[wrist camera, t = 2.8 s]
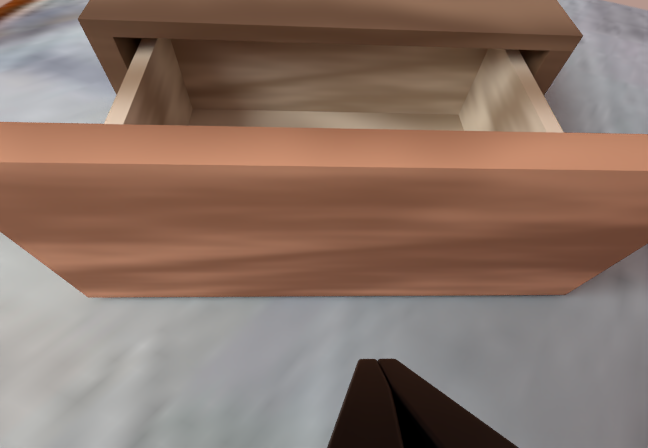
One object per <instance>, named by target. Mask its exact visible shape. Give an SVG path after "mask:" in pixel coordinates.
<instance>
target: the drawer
mask: <svg viewBox="0 0 648 448" xmlns="http://www.w3.org/2000/svg"><path fill="white" fill-rule="evenodd" d="M0 232H1V233H3V234H4V235H5V236H7V237H8V238H9V239H11V240H12V241H13V242H15V243H16V244H17V245H19V246H20V247H22V248H23V249H24V250H26V251H27V252H28V253H30V254H31V255H32V256H34V257H35V258H36V259H38V260H39V261H40V262H42V263H43V264H44V265H46V266H47V267H48V268H50V269H51V270H52V271H54V272H55V273H56V274H58V275H59V276H60V277H62V278H63V279H64V280H66V281H67V282H68V283H70V284H71V285H72V286H74V287H75V288H76V289H78V290H79V291H80V292H82V293H83V294H84V295H86V296H87V297H259V296H443V295H566V294H568V293H569V292H571V291H572V290H574V289H576V288H577V287H579V286H580V285H582V284H584V283H585V282H587V281H588V280H590V279H592V278H593V277H595V276H596V275H598V274H600V273H601V272H603V271H604V270H606V269H608V268H609V267H611V266H612V265H614V264H616V263H617V262H619V261H620V260H622V259H624V258H625V257H627V256H628V255H630V254H632V253H633V252H635V251H636V250H638V249H640V248H641V247H643V246H644V245H646V244H648V134H608V133H564V132H563V130H562V128H561V127H560V125H559V123H558V121H557V119H556V117H555V116H554V114H553V112H552V110H551V108H550V106H549V105H548V103H547V101H546V99H545V97H544V95H543V94H542V92H541V90H540V88H539V86H538V84H537V83H536V81H535V79H534V77H533V75H532V73H531V72H530V70H529V68H528V66H527V64H526V63H525V61H524V59H523V57H522V55H521V53H520V52H519V50H515V49H483V48H451V47H419V46H387V45H355V44H323V43H291V42H259V41H227V40H195V39H163V38H142V39H141V42H140V44H139V46H138V48H137V51H136V53H135V55H134V57H133V60H132V62H131V64H130V66H129V69H128V71H127V73H126V75H125V78H124V80H123V82H122V84H121V87H120V89H119V91H118V93H117V96H116V98H115V100H114V102H113V105H112V107H111V109H110V111H109V114H108V116H107V118H106V120H105V123H104V124H79V123H26V122H0Z"/></svg>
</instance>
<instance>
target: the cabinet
mask: <svg viewBox="0 0 648 448" xmlns="http://www.w3.org/2000/svg"><path fill="white" fill-rule="evenodd" d="M78 21H79V22H80V24H81V26H82V28H83V30H84V32H85V34H86V36H87V38H88V40H89V42H90V44H91V46H92V48H93V50H94V52H95V54H96V55H97V57H98V59H99V61H100V63H101V65H102V67H103V69H104V71H105V73H106V75H107V77H108V79H109V81H110V83H111V85H112V87H113V89H114V90H115V92H116V94H117V93H118V91H119V89H120V87H121V84H122V82H123V80H124V78H125V75H126V73H127V71H128V69H129V66H130V64H131V62H132V60H133V57H134V55H135V53H136V51H137V48H138V46H139V44H140V42H141V39H142V38H163V39H195V40H227V41H259V42H291V43H323V44H355V45H387V46H419V47H451V48H483V49H515V50H519V52H520V53H521V55H522V57H523V59H524V61H525V63H526V64H527V66H528V68H529V70H530V72H531V73H532V75H533V77H534V79H535V81H536V83H537V84H538V86H539V88H540V90H541V92H542V94H543V95H544V94H545V93H546V91H547V90H548V88H549V87H550V85H551V84H552V82H553V81H554V79H555V78H556V76H557V75H558V73H559V72H560V70H561V69H562V67H563V66H564V64H565V63H566V61H567V60H568V58H569V57H570V55H571V54H572V52H573V51H574V49H575V47H576V46H577V44H578V43H579V41H580V40H581V38H582V37H583V35H582V34H581V32H580V31H579V30H578V28H577V27H576V26H575V24H574V23H573V22H572V20H571V19H570V18H569V16H568V15H567V13H566V12H565V11H564V9H563V8H562V7H561V5H560V4H559V3H558V1H557V0H90V1H89V2H88V4H87V5H86V7H85V8H84V10H83V12H82V13H81V15H80V16H79V18H78Z"/></svg>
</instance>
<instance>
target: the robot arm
mask: <svg viewBox="0 0 648 448" xmlns="http://www.w3.org/2000/svg"><path fill="white" fill-rule="evenodd" d="M327 448H518V447H517V446H516V445H514V444H513V443H511V442H510V441H509V440H507V439H506V438H504V437H503V436H502V435H500V434H499V433H498V432H496V431H495V430H493V429H492V428H491V427H489V426H488V425H486V424H485V423H484V422H482V421H481V420H480V419H478V418H477V417H475V416H474V415H473V414H471V413H470V412H468V411H467V410H466V409H464V408H463V407H461V406H460V405H459V404H457V403H456V402H455V401H453V400H452V399H450V398H449V397H448V396H446V395H445V394H443V393H442V392H441V391H439V390H438V389H437V388H435V387H434V386H432V385H431V384H430V383H428V382H427V381H425V380H424V379H423V378H421V377H420V376H418V375H417V374H416V373H414V372H413V371H412V370H410V369H409V368H407V367H406V366H405V365H403V364H402V363H400V362H399V361H398V360H396V359H379V360H378V361H377V360H376V359H360V360H359V361H358V363H357V366H356V368H355V371H354V374H353V377H352V380H351V382H350V385H349V388H348V391H347V394H346V396H345V399H344V402H343V405H342V408H341V410H340V413H339V416H338V419H337V422H336V424H335V427H334V430H333V433H332V436H331V438H330V441H329V444H328V447H327Z"/></svg>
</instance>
